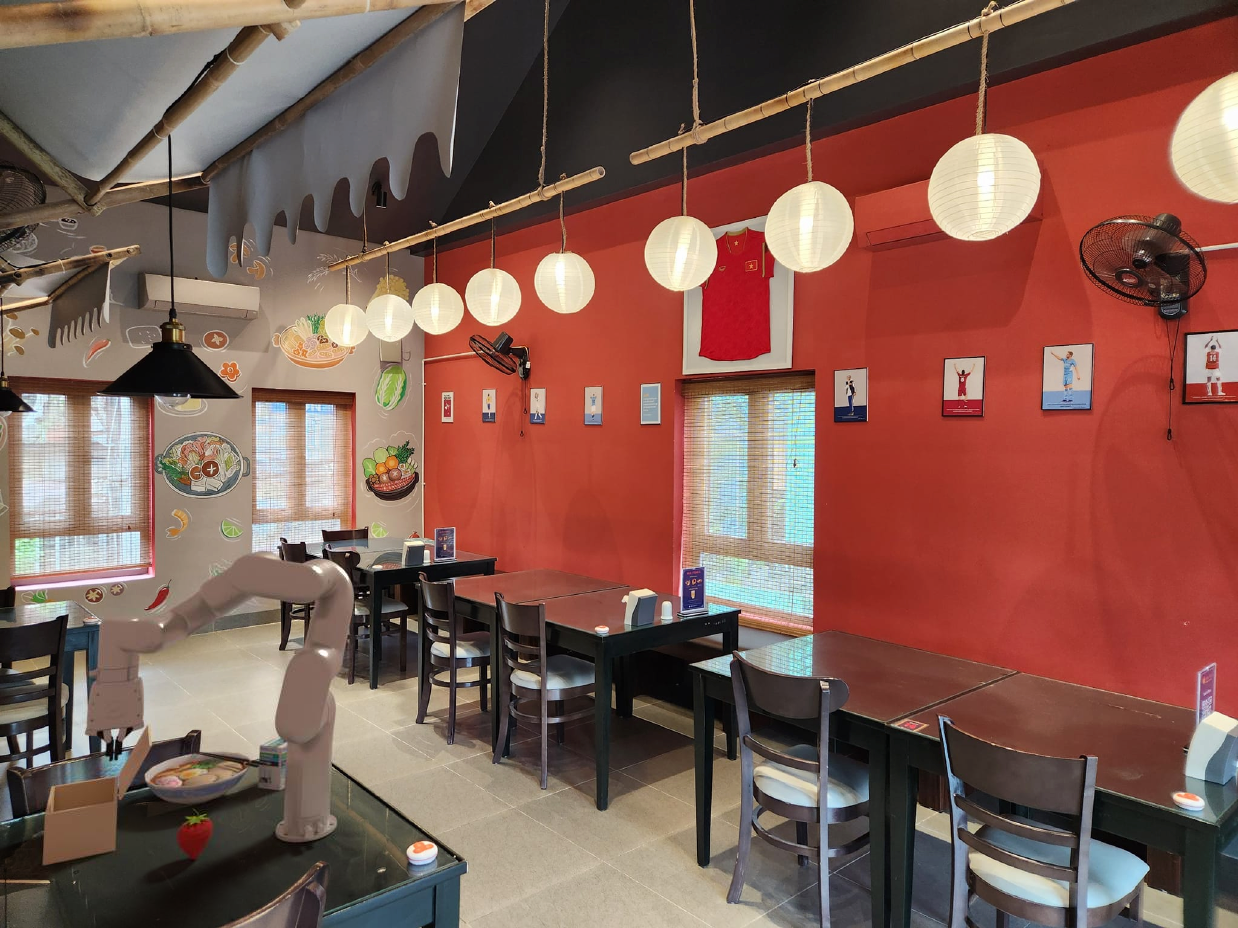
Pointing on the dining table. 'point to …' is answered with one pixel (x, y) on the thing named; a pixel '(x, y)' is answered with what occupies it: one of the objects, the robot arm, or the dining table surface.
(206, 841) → the strawberry
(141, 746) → the carton flap
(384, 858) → the dining table surface
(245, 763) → the ramen bowl
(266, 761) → the light bulb box
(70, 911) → the dining table surface
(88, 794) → the cardboard carton
